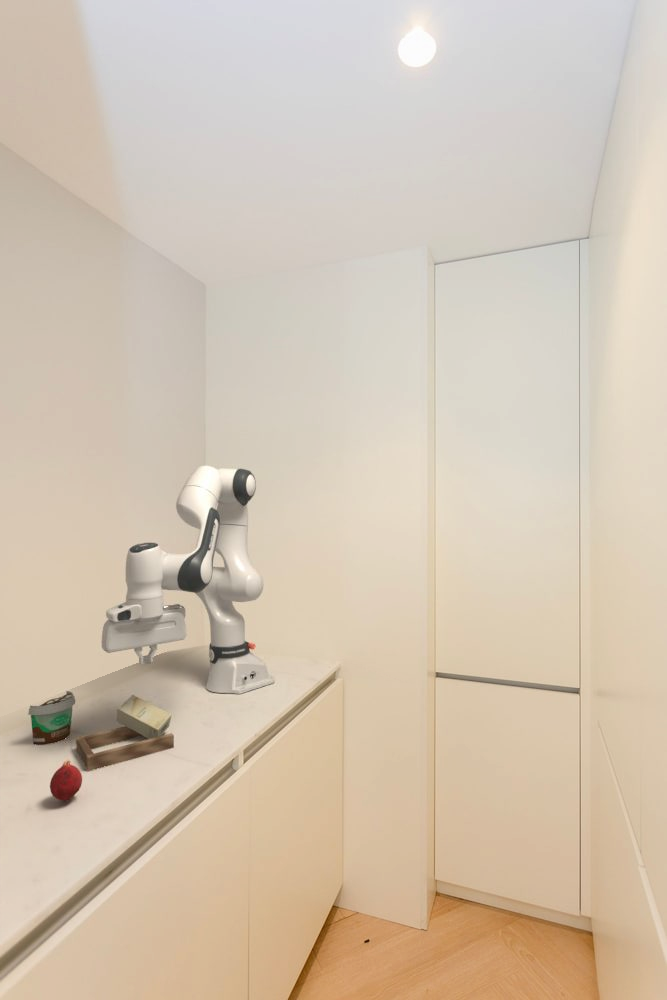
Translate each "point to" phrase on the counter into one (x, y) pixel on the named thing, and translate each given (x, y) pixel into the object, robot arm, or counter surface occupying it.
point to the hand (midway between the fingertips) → (146, 663)
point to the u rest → (118, 753)
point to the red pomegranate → (66, 782)
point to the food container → (52, 719)
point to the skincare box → (143, 717)
